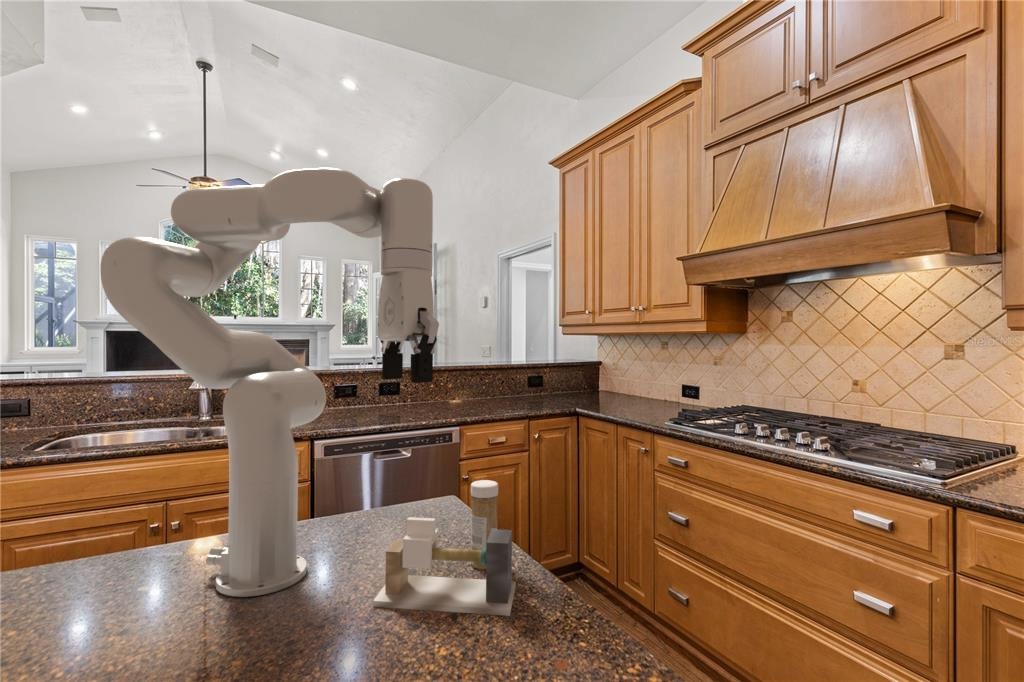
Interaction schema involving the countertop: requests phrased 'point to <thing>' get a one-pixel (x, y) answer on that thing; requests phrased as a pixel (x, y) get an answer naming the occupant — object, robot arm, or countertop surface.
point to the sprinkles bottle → (483, 514)
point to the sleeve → (419, 543)
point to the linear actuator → (453, 581)
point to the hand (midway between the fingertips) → (406, 380)
